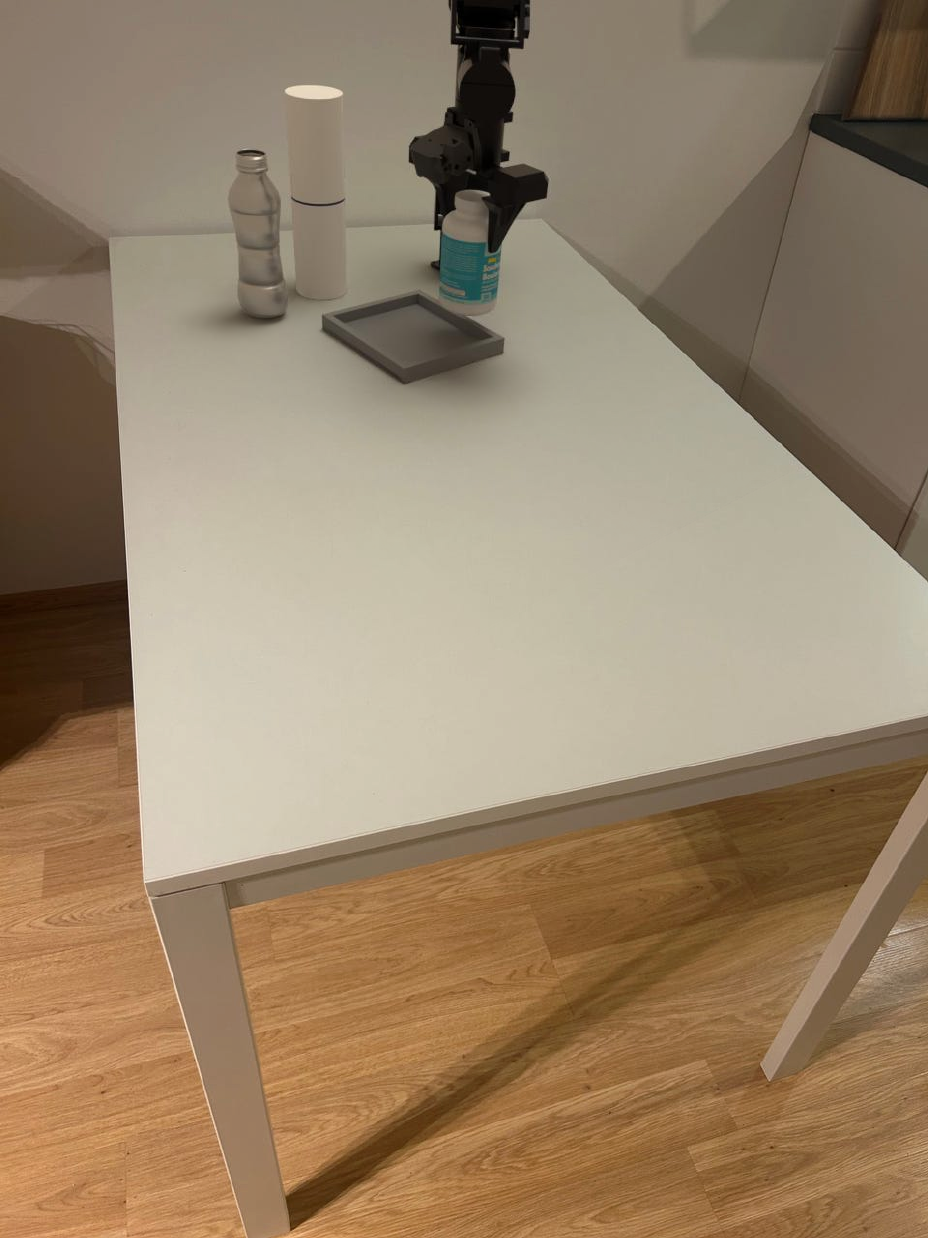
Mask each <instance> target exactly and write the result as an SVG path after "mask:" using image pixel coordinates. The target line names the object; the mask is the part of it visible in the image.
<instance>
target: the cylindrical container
mask: <svg viewBox="0 0 928 1238" xmlns="http://www.w3.org/2000/svg"><path fill="white" fill-rule="evenodd" d="M284 99H285V100H284V101H285V118H286V132H287V133H286V134H287V135H286V136H287V137H286V138H287V152H288V153H287V154H288V167H289V168H288V170H289V173H288V174H289V190H290V205H291V207H290V208H291V222H292V224H291V225H292V237H293V238H292V239H293V259H294V271H295V274H294V275H295V289H296V293H297V294H298V295H300V296H301V297H304V298H306V299H311V300H316V301H317V300H318V301H327V300H330V301H331V300H334V299H339V298H341V297H343V296H344V295H346V294H347V292H348V278H347V277H348V274H347V272H348V271H347V269H348V268H347V233H346V232H347V229H346V228H347V227H346V226H347V224H346V181H345V180H346V179H345V177H346V176H345V175H346V174H345V173H346V172H345V137H344V136H345V134H344V132H345V127H344V124H345V123H344V120H345V119H344V92H343V91H342V90H341V89H338V88H335V87H331V86H326V85H315V84H304V85H303V84H302V85H301V84H300V85H295V86H293V85H292V86H289V87H287V88H286V89H285V90H284Z"/></svg>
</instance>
